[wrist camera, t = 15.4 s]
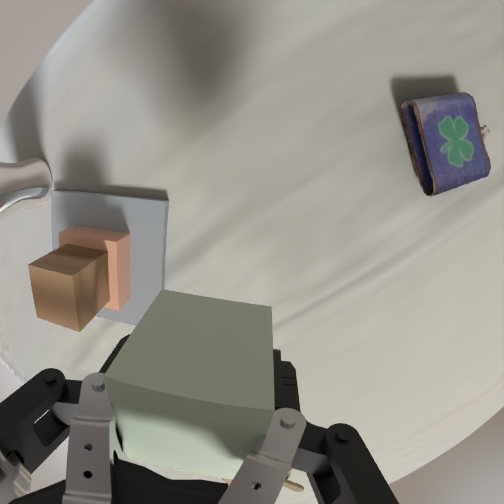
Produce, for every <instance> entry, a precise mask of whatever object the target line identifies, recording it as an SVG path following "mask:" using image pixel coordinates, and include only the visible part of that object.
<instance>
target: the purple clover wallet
mask: <svg viewBox="0 0 504 504" xmlns="http://www.w3.org/2000/svg"><path fill="white" fill-rule="evenodd" d="M401 108H402V109H401V110H402V119H403V123H404V126H405V130H406V134H407V138H408V143H409V145H410V148H411V154H412V160H413V163H414V166H415V170H416V173H417V176H418V180H419V183H420V185H421V188H422V189H423V191H424V193H425V194H426V195H427V196H431V197H432V195H437V194H440V193H443V192H446V191H448V190H450V189H453V188H457V187H459V186H462V185H464V184H468V183H470V182H472V181H476V180H479V179H481V178H484V177H487V176H488V174H489V172H490V169H491V164H490V158H489V157H488V154H487V151H486V149H485V144H484V138H485V136H486V132H485V131H488V133H489V132H490V131H489V129H488V128H487V126H486V125H484V127H480V125H479V120H478V115H477V110H476V104H475V101H474V99H473V97H472V96H470V95H469V94H468V93H465V92H463V93H458V94H451V95H443V96H432V97H427V98H420V99H413V100H408V101H406V102H405V103H403V104H402V106H401Z"/></svg>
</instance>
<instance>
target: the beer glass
mask: <svg viewBox="0 0 504 504" xmlns="http://www.w3.org/2000/svg"><path fill="white" fill-rule="evenodd" d="M51 186H52V179H51V173H50V169H49V167H48V165H47V163H46V162H45V161H44V160H43V159H41V158H39V157H32V158H29V159H26V160H24V161H21V162H17V163H7V162H0V221H1V220H3V219H4V218H6V217H7V216H9V215H10V214H12V213H14V212H16V211H18V210H21V209H29V208H39V207H41V206H42V205H44V204H45V202H46V201H47V199H48V198H49V195H50V192H51Z"/></svg>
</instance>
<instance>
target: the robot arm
mask: <svg viewBox="0 0 504 504" xmlns="http://www.w3.org/2000/svg"><path fill="white" fill-rule="evenodd" d="M129 336H130V334H128V335H127V336H125V337H124V338H122V339H121V340H120V341H119V343H118V344H117V346H116V348H115V349H114V350H113V351H112V353H111V354H110V356H109V357H108V359H107V360H106V362H105V363H104V365H103V366H102V368H101V369H100V371H99V372H98V373H92V374H89V375H87V376H86V377H85V378H84V379H83V381H78V380H67V379H65V376H64V374H63V373H62V372H61V371H60V370H58V369H54V368H49V369H45V370H42V371H41V372H39V373H38V374H37V375H36V376H34V377H33V378H32V379H30V380H29V381H28V382H27V383H25V384H24V385H23V386H21V387H20V388H19V389H18V390H16V391H15V392H14V393H13V394H11V395H10V396H9V397H8V398H6V399H5V400H4V401H2V402H1V403H0V504H274V503H275V501H276V499H277V497H278V495H279V493H280V490H281V488H282V486H283V484H284V481H285V479H286V477H287V475H288V472H289V470H290V467H291V468H294V469H297V470H301V471H304V472H306V473H307V476H308V478H309V481H310V483H311V486H312V488H313V491H314V493H315V496H316V498H317V501H318V503H319V504H399V503H398V501H397V499H396V498H395V496H394V494H393V492H392V491H391V489H390V487H389V485H388V484H387V482H386V480H385V478H384V477H383V475H382V473H381V471H380V470H379V468H378V466H377V464H376V463H375V461H374V459H373V457H372V456H371V454H370V452H369V450H368V449H367V447H366V445H365V443H364V442H363V440H362V438H361V437H360V435H359V433H358V432H357V430H356V429H355V428H353V427H352V426H350V425H347V424H343V423H338V424H334V425H332V426H330V427H329V428H328V429H326V428H323V427H319V426H316V425H313V424H311V423H309V422H308V421H307V420H306V419H305V417H304V416H303V415H302V414H301V411H300V403H299V395H298V386H297V380H296V370H295V368H294V367H293V365H292V364H291V362H287V361H281V352H280V350H277V349H273V367H274V404H275V410H274V414H273V417H272V420H271V423H270V426H269V429H268V432H267V434H261V435H260V437H259V439H258V441H257V443H256V444H255V446H254V448H253V450H252V451H250V452H249V453H248V455H247V457H246V458H245V460H244V462H243V463H242V465H241V467H240V468H239V470H238V472H237V473H236V475H235V477H234V478H233V480H232V482H231V483H230V485H229V487H228V484H227V483H219V482H212V481H206V480H171V479H168V478H166V477H163V476H161V475H159V474H157V473H155V472H153V471H151V470H149V469H147V468H146V467H143V466H140V465H137V464H133V463H130V462H127V461H126V457H125V442H124V438H123V436H121V435H120V433H119V430H118V427H117V424H116V421H115V418H116V412H115V408H114V405H113V404H112V403H110V399H109V396H108V392H107V388H106V383H105V379H104V375H105V373H106V372H107V370H108V368H109V367H110V365H111V364H112V362H113V361H114V359H115V358H116V356H117V354H118V353H119V351H120V350H121V348H122V347H123V345H124V344H125V342H126V341H127V339H128V338H129ZM47 410H49V411H48V412H47V413H46V414H45V415H44V416H43V417H42V418H40V417H41V416H42V415H43V414H44V413H45V412H46V411H47ZM38 418H40V419H39V420H38V421H37V422H36V423H35V421H36V420H37V419H38ZM34 423H35V424H34ZM68 436H69V444H68V454H67V469H66V479H65V480H62V481H60V482H58V483H55V484H53V485H50V486H48V487H45V488H43V489H40V490H37V491H35V492H32V493H29V494H27V495H26V492H28V491H29V490H30V489H31V485H30V484H31V474H32V473H33V472H34V471H35V470H36V469H37V468H38V467H39V466H40V465H41V464H42V463H43V462H44V460H45V459H46V458H47V457H48V456H49V455H50V454H51V453H52V452H53V451H54V450H55V449H56V448H57V447H58V446H59V445H60V444H61V443H62V442H63V441H64V440H65V439H66V438H67V437H68Z"/></svg>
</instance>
